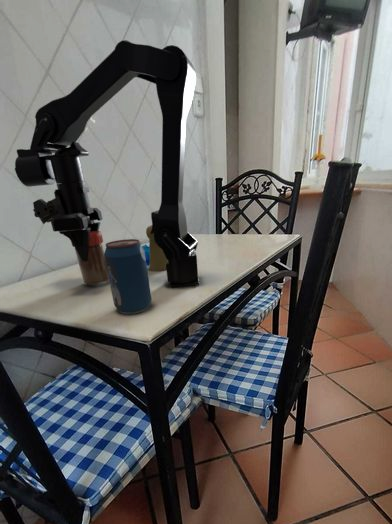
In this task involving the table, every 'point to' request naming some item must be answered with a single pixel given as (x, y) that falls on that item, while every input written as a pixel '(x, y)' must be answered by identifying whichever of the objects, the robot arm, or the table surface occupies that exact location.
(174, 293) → the table surface
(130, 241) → the soda can
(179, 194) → the robot arm
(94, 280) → the jar
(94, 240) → the lid
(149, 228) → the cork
